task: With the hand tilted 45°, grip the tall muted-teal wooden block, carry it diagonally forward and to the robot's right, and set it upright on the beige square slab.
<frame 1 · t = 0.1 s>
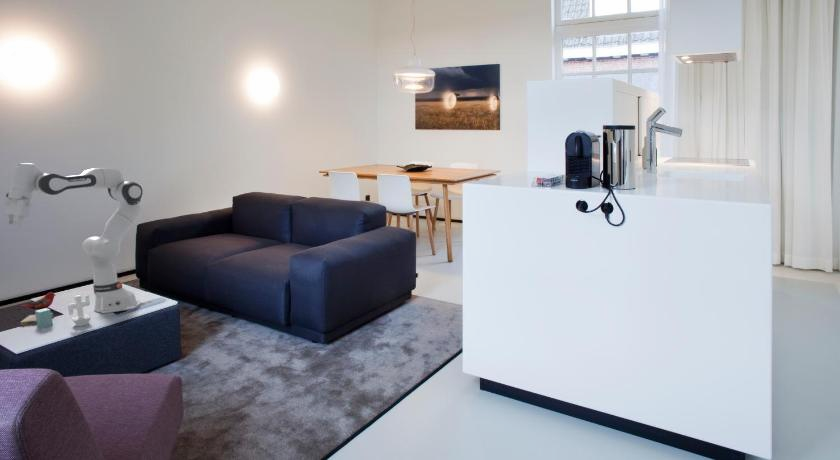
hand: (14, 224, 266), 52 cm above the table, tool tilted 20°, fingers open, 8 cm apart
teal block: (45, 325, 281), on the table
figurine: (82, 324, 280), on the table
decorative bird figurine: (39, 313, 301), on the table
beige square slab: (37, 321, 288), on the table
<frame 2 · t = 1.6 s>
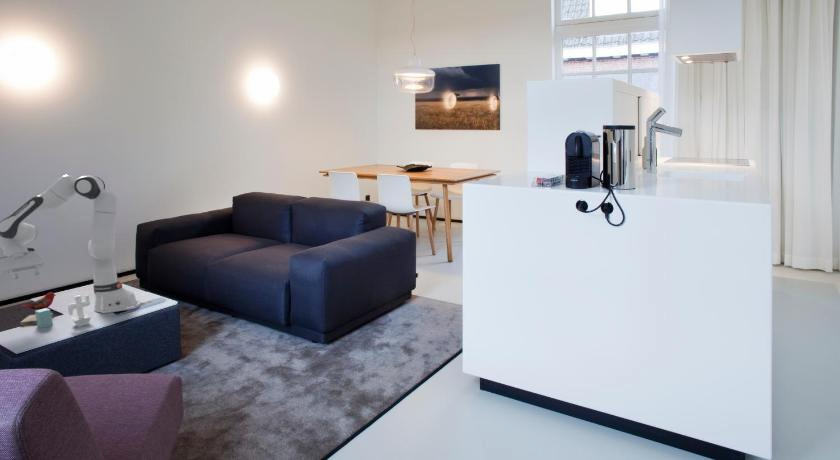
hand: (27, 276, 283), 24 cm above the table, tool tilted 45°, fingers open, 8 cm apart
nothing on the table moved.
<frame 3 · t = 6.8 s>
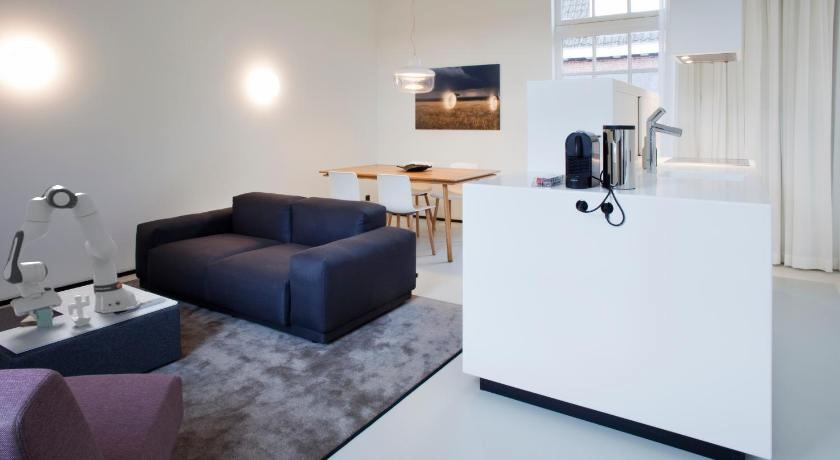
hand: (44, 316, 279), 5 cm above the table, tool tilted 45°, fingers closed on teal block, 5 cm apart
teal block: (45, 325, 281), on the table, touching gripper
everything else where it was.
when the fingers open (8 cm above the table, at t = 12.0 s): teal block drops 1 cm, resting on beige square slab.
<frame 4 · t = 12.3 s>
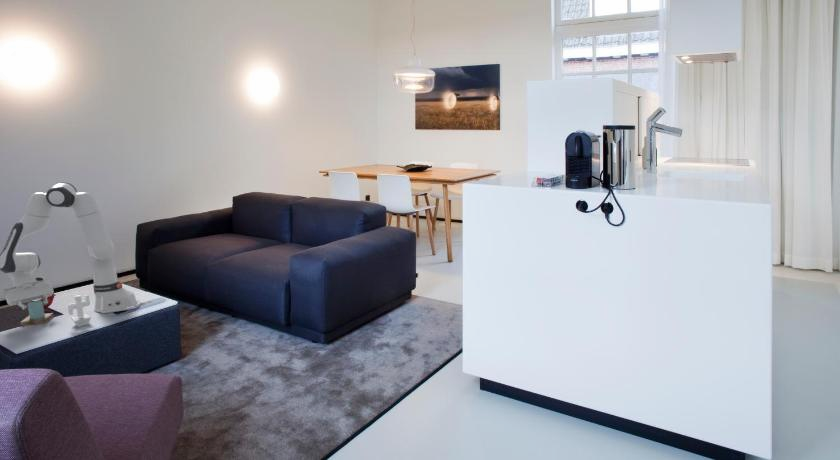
hand: (35, 306, 286), 8 cm above the table, tool tilted 45°, fingers open, 8 cm apart
teal block: (37, 317, 287), point 2 cm above the table, touching beige square slab
everything else where it was.
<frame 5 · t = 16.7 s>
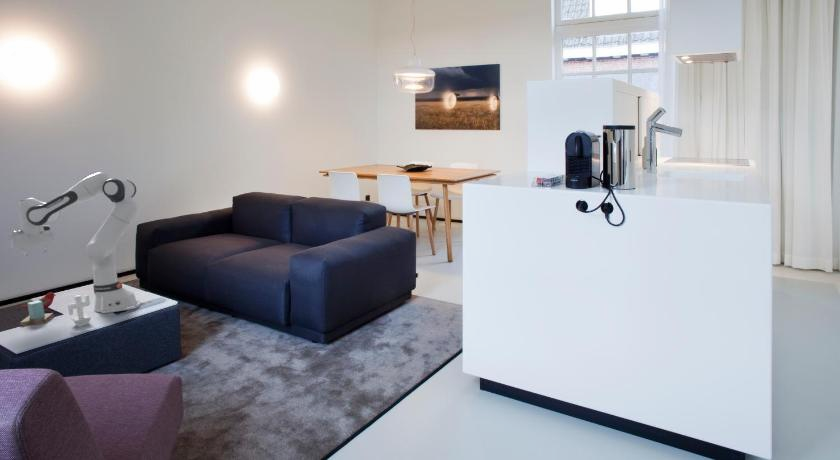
hand: (35, 254, 299), 31 cm above the table, tool pointing down, fingers open, 8 cm apart
nothing on the table moved.
at the end: teal block inside the target area on the beige square slab (0.1 cm from its centre), point 2.0 cm above the beige square slab's base; teal block tilted 0°; the gripper is holding nothing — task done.
